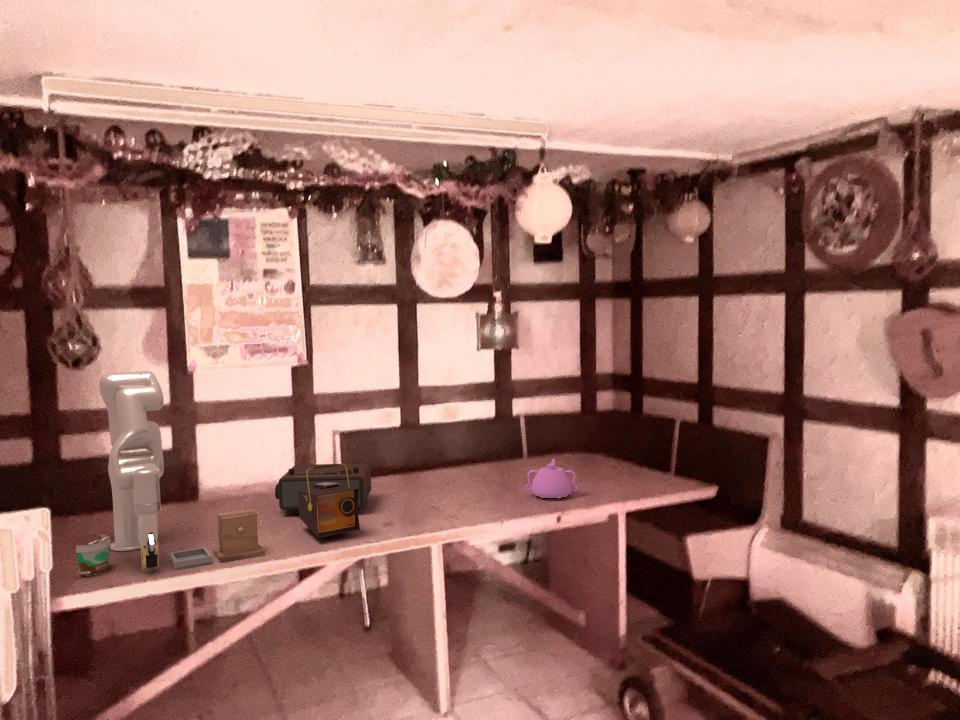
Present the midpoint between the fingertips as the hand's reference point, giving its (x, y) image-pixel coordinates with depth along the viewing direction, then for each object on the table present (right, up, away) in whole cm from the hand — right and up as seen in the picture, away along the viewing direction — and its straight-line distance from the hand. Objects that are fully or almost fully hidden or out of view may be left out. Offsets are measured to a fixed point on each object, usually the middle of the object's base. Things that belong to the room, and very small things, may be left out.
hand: (150, 563), depth 242 cm
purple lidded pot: (+134, +6, +85) cm, 158 cm away
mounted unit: (+24, -1, +13) cm, 27 cm away
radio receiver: (+40, +3, +71) cm, 82 cm away
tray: (+10, -1, +6) cm, 12 cm away
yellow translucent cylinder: (0, -2, 0) cm, 2 cm away
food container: (-15, -3, -1) cm, 15 cm away
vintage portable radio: (+48, +1, +34) cm, 59 cm away
